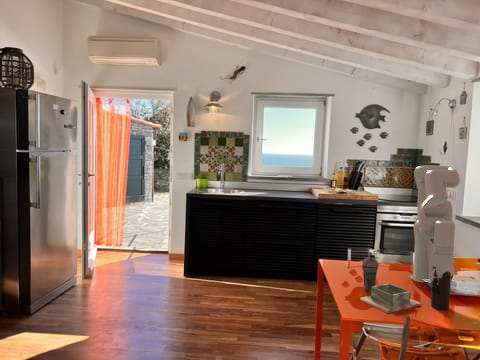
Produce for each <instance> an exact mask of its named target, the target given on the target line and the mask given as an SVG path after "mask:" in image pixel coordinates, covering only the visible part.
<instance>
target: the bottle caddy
mask: <svg viewBox="0 0 480 360" xmlns="http://www.w3.org/2000/svg"><path fill="white" fill-rule="evenodd" d="M359 301H361V302H363V303H366V304H368V305H370V306H371V307H374V308H376V309H378V310H380V311H382V312H384V313H386V314H390V313H393V312H398V311H401V310H402V311H404V310H406V309H411V308H415V307H420V306H422V303H421V302H419V301H417V300H415V299H412V298H411V291H410V290H409V289H406V288H403V287H400V286H397V285H396V284H393V283H385V284H384V283H383V284H378V285H375V286H372V287H371V291H370V295H368V296H363V297H359Z"/></svg>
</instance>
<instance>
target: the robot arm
mask: <svg viewBox="0 0 480 360" xmlns="http://www.w3.org/2000/svg"><path fill="white" fill-rule="evenodd" d="M413 176H414V181H415V185H416V187H417V220H416V221H415V222H414V223H413V233H414V254H413V257H414V258H413V273H412V274H410V275H409V278H410V279H411V280H412V281H415V282H418V283H421V284H422V283H423V284H425V283H424V282H423V281H422V280H421V279H430V280H431V281H432V283H431V293H432V292H433V293H434V292H437V294H440V285H439V282H440V278H442V275H443V274H444V273H445V272H447V271H448V272H450V273H451V281H450V289H451V287H452V285H451V283H452V279H453V278H454V276H455V274H456V272H455V260H454V259H455V258H454V253H455V252H454V251H455V233H456V232H455V231H456V223H455V222H454V221H453V204H452V203H451V201H449V200H448V193H447V191H448V190H447V188H448V189H449V188H452V189H455V188H457V187H459V184H460V175H459V172H458V171H457V170H456V169H455V168H454V167H453V166H450V165H428V164H427V165H419V166H417V167H415V169H414V171H413ZM431 239H432V240H433V242H432V241H431ZM435 274H437V275H438V276H437V277H436V276H434V275H435ZM434 277H435V278H438V279H437V280H436V279H435V278H434Z"/></svg>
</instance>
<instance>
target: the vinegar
mask: <svg viewBox="0 0 480 360" xmlns="http://www.w3.org/2000/svg"><path fill="white" fill-rule="evenodd" d="M434 276H436V277H437V276H438V275H437V274H435V275H434ZM434 278H435V277H434ZM435 279H436V280H437V279H438V278H435ZM450 281H451V273H450V272H448V271H447V272H445V273H444V274H443V275H442V278H440V282H439V285H440V294H437V292H434V293H433V292H432V291H431V296H430V305H431V307H432V308H433V309H435V310H439V311H448V310H449V309H450V297H451V288H450Z"/></svg>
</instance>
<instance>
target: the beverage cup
mask: <svg viewBox="0 0 480 360" xmlns="http://www.w3.org/2000/svg"><path fill="white" fill-rule="evenodd" d="M367 254H368V256H367V257H366V258H364V259H363V261H362V264H361V265H362V273H363V289H364V290H365V291H368V292H371V287H372V286H376V280H377V272H378V269H379V264H378V260H376V259H375V258H374V257H371V256H370V247H368V248H367Z"/></svg>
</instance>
